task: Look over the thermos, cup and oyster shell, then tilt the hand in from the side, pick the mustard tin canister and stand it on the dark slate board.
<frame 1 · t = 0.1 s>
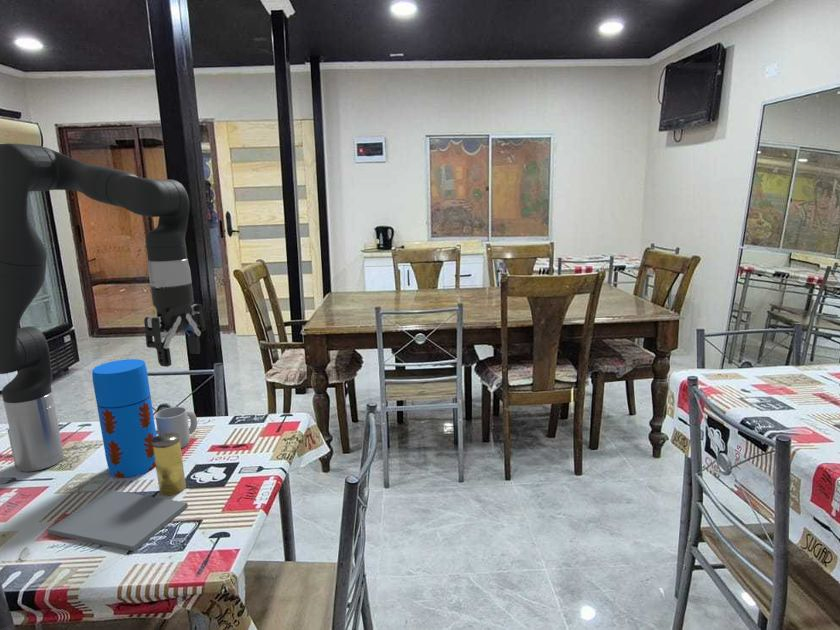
hand: (180, 359, 107), 29 cm above the table, fingers open, 8 cm apart
slate board: (120, 519, 102), on the table
canister: (172, 488, 113), on the table
cup: (180, 443, 135), on the table
thermos: (135, 467, 123), on the table
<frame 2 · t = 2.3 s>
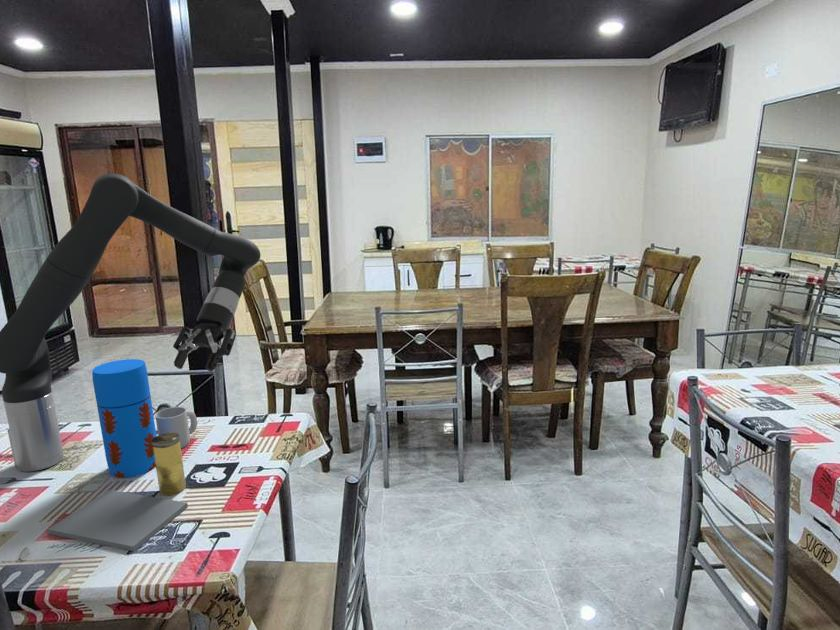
hand: (193, 368, 120), 23 cm above the table, fingers open, 8 cm apart
nothing on the table moved.
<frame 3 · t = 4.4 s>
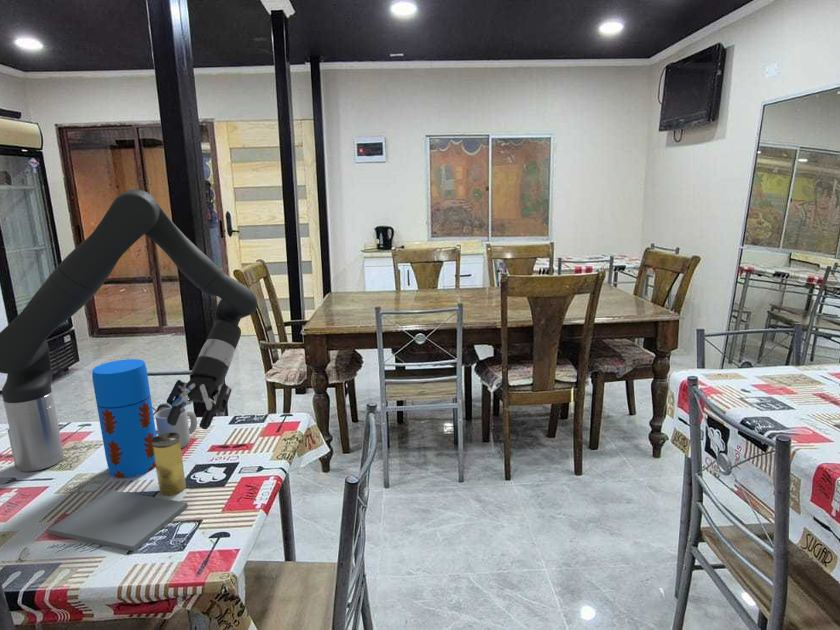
hand: (186, 426, 116), 12 cm above the table, fingers open, 8 cm apart
nothing on the table moved.
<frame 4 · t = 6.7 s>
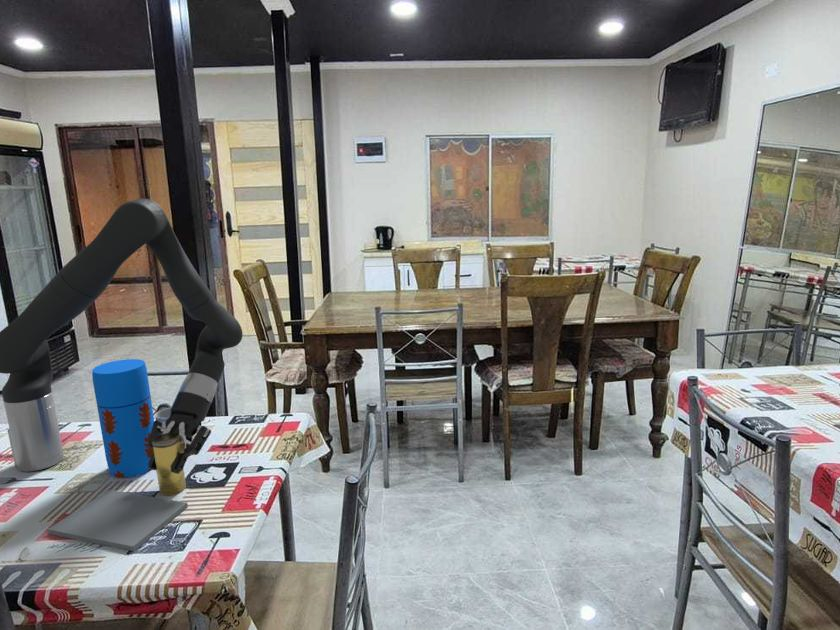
hand: (163, 470, 110), 5 cm above the table, fingers closed on canister, 5 cm apart
canister: (172, 488, 113), on the table, touching gripper
everything else where it was.
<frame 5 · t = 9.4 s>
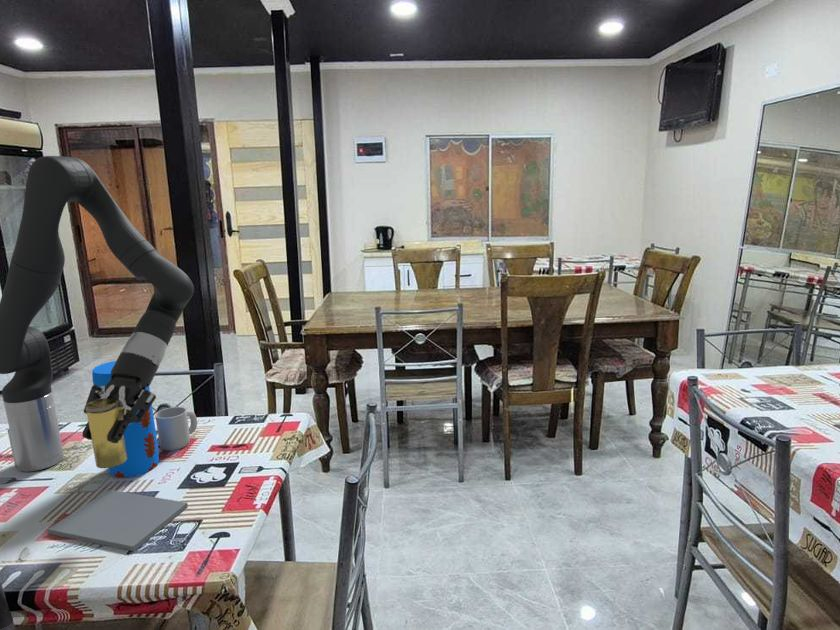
hand: (99, 439, 97), 18 cm above the table, fingers closed on canister, 5 cm apart
canister: (111, 461, 100), point 13 cm above the table, touching gripper
everything else where it was.
when the fingers open (8 cm above the table, at t = 12.3 s): canister drops 1 cm, resting on slate board.
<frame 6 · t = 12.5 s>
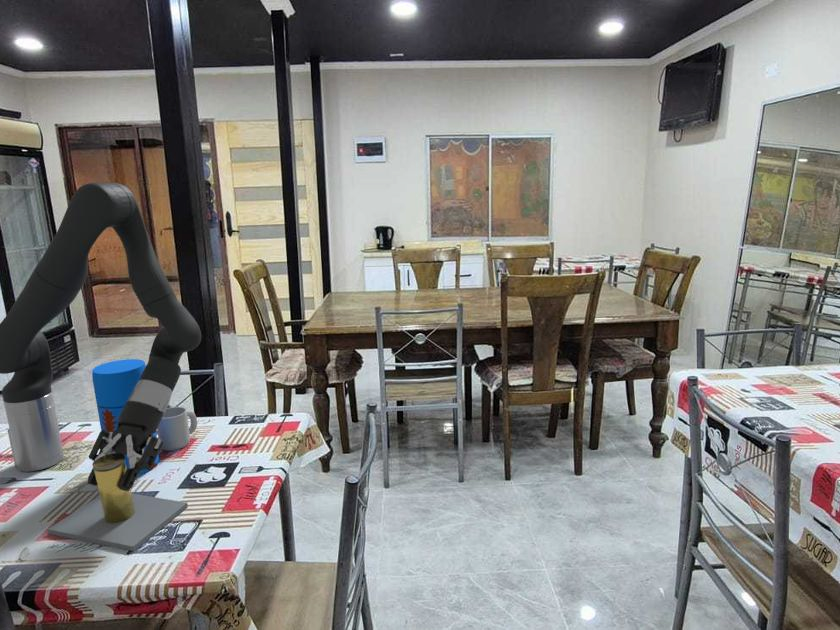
hand: (107, 487, 99), 8 cm above the table, fingers open, 7 cm apart
canister: (120, 514, 102), point 1 cm above the table, touching slate board
everything else where it was.
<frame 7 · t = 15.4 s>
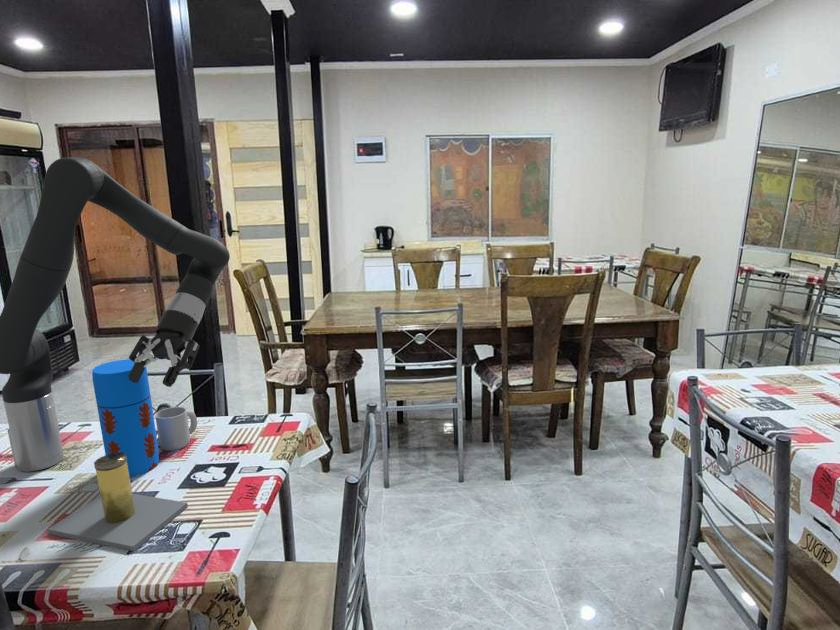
hand: (149, 383, 108), 24 cm above the table, fingers open, 8 cm apart
nothing on the table moved.
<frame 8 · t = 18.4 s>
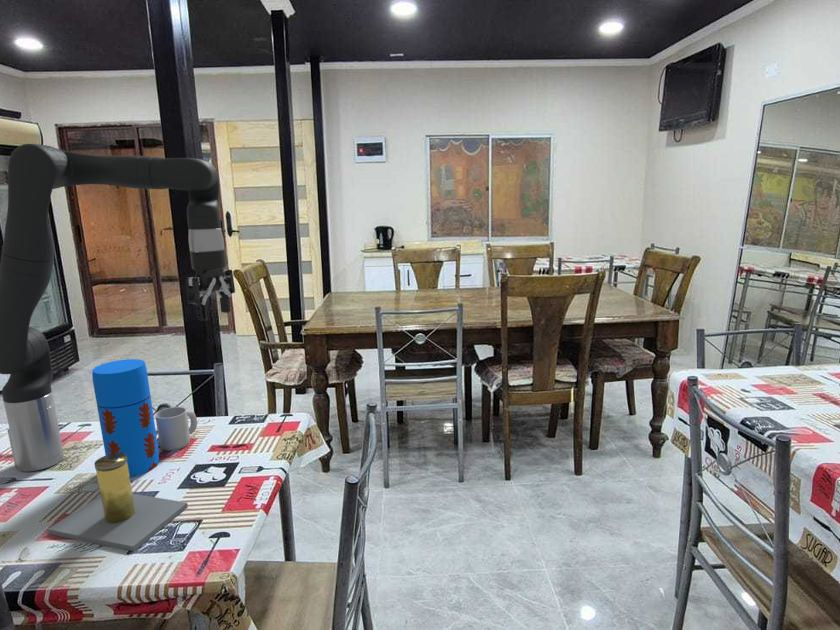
hand: (214, 316, 124), 34 cm above the table, fingers open, 8 cm apart
nothing on the table moved.
at the end: canister inside the target area on the slate board (0.1 cm from its centre), point 1.0 cm above the slate board's base; canister tilted 1°; the gripper is holding nothing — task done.
